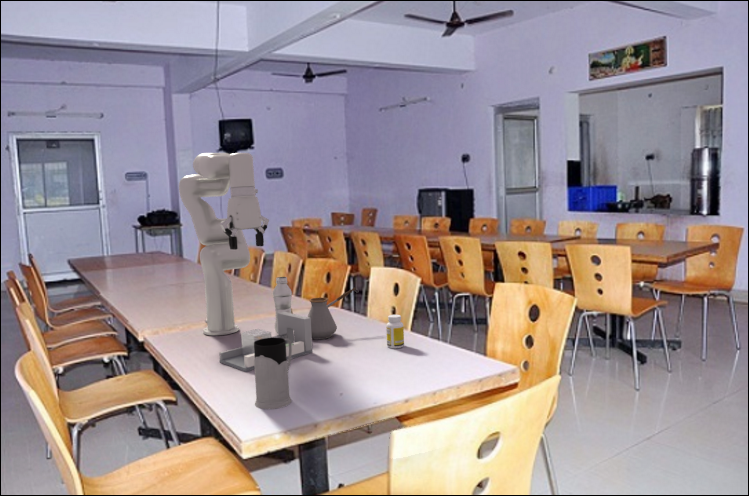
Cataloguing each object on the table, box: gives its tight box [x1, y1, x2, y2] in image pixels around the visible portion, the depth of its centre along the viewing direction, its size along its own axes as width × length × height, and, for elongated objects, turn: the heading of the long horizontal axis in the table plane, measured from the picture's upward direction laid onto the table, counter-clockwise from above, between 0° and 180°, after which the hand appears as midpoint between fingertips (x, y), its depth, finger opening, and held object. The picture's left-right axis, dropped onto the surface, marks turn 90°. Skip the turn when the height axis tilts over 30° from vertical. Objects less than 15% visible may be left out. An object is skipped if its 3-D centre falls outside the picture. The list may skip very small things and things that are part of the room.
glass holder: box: [254, 338, 293, 410], centre depth 147 cm, size 9×14×15 cm, turn 159°
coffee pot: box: [307, 287, 359, 340], centre depth 207 cm, size 21×12×15 cm, turn 124°
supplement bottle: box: [385, 314, 405, 349], centre depth 189 cm, size 5×5×10 cm
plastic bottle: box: [272, 276, 294, 335], centre depth 208 cm, size 6×7×20 cm
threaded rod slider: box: [240, 328, 288, 356], centre depth 182 cm, size 11×14×7 cm
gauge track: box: [218, 312, 313, 373], centre depth 182 cm, size 14×24×11 cm, turn 134°
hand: (247, 247), depth 189 cm, fingers open, 9 cm apart
